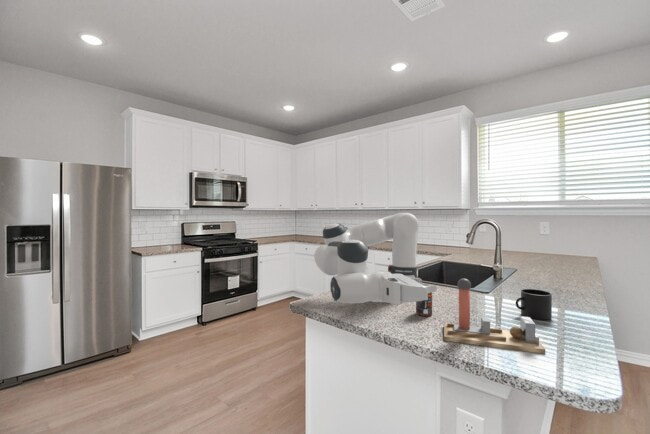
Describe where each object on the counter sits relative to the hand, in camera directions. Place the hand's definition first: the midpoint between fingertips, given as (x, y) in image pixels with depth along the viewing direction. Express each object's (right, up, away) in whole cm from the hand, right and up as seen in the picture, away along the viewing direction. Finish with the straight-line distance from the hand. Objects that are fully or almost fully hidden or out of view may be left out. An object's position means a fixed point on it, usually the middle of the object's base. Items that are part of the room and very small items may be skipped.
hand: (427, 284), depth 95 cm
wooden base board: (+19, -17, 0) cm, 25 cm away
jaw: (+29, -16, -4) cm, 33 cm away
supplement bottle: (+6, -17, +23) cm, 29 cm away
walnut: (+26, -16, -3) cm, 30 cm away
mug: (+46, -16, +20) cm, 52 cm away
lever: (+14, -15, +2) cm, 21 cm away
